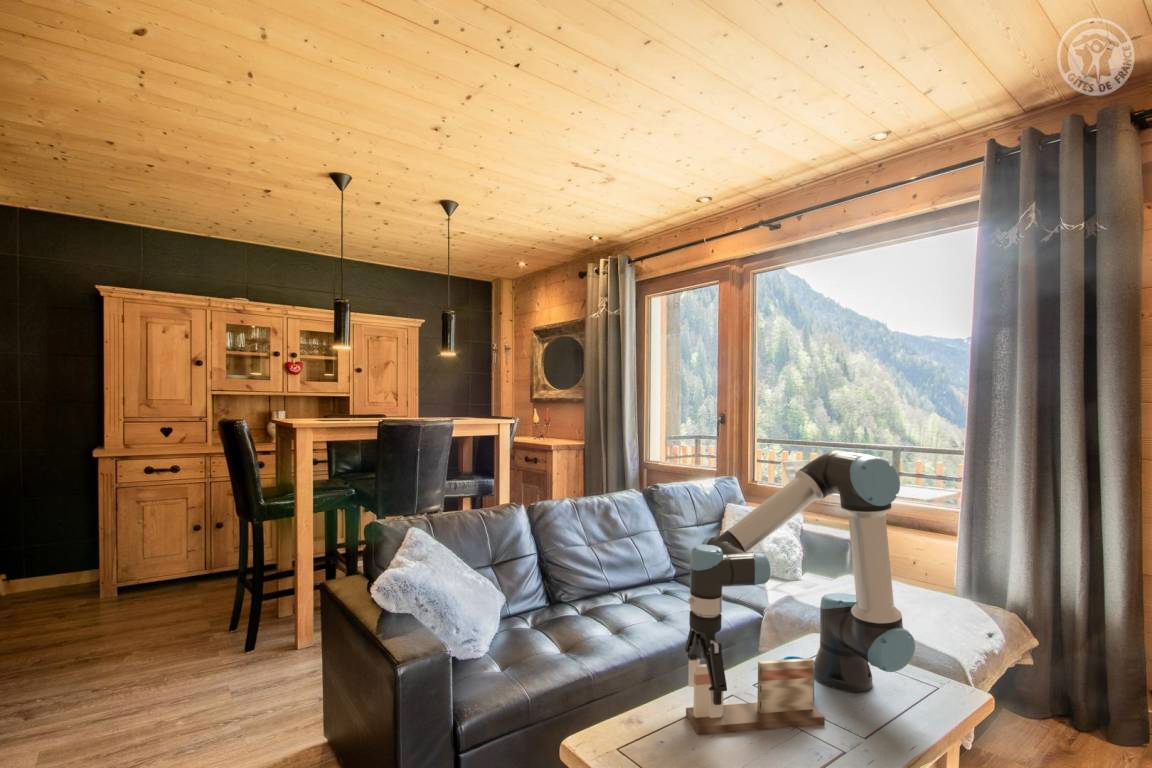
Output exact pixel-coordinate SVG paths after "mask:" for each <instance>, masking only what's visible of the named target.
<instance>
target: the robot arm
mask: <svg viewBox="0 0 1152 768" xmlns="http://www.w3.org/2000/svg"><path fill="white" fill-rule="evenodd" d="M900 490H901V481H900V476H899V473H898V471H897V470H896V468H895V466H894V465H892V464H891V463H890V462H889V461H888V460H886V459H884V458H882V457H878V456H876V455H873V454H865V453H858V452H852V451H851V452H850V451H846V450H833V451H829V452H826V453H824V454H822V455H820V456H818V457H816V458H815V459H813V460H812V461H810V462H808V463H807V464H805V465H804V466H803V467H802V468H800V469H798V470H797V471H796V472H795V474H794V478H793V479H792V480H791V481H790V482H788V483H787V484H785V486H783V487H782V488H780V489H779V490H778V491H776V492H775V493H774V494H773V495H771V496H770V497H769V498H767V499H766V500H765V501H764V502H762V503H760V504H759V505H758V506H757V507H755V508H754V509H753V510H752V511H751V512H749V513H748V514H746V515H745V516H744V517H743V518H741V519H740V520H739V521H737V522H736V523H734V524H733V525H732V526H731V527H729V528H728V529H727V530H726V531H725V532H723V533H722V534H720V535H709V536H707V537H705V539H703V541H702V542H701V544H697V545H695V546H693V547H692V548H691V550H690V560H689V561H690V562H689V585H690V586H689V598H688V599H687V601H688V603H689V609H690V611H689V615H688V616H689V618H688V619H689V622H688V623H689V624H688V625H689V631H688V636H687V639H686V643H685V648H684V649H685V650H684V651H685V653H687V658H688V674H687V675H688V677H687V678H688V680H687V681H688V683H687V684H688V687H689V688H691V687H693V688H694V665H701V660H700V659H699V658H701V655H702V658H703V659H704V660H705V663H706V664H707V669H708V674H709V678H710V683H711V687H710V688H709V691H710V692H709V717H710V718H715V717H722V691H723V692H727V690H728V688H727V687H728V686H727V681H726V679H727V678H726V673H725V666H723V665H724V660H723V654H722V653H723V651H722V650H723V649H722V648H723V647H722V643H721V642H717V639H716V634H717V633H719V632H720V631H721V630H722V622H723V621H722V620H723V619H722V612H723V588H724V587H742V586H743V587H744V586H757V585H764V584H767V582H769V580H770V578H771V571H772V570H771V564H770V561H769V558H768V557H767V555H766V554H765V553H763V552H756V551H752V552H751V550H752V549H753V548H754V547H755V548H756V546H757V545H759V544H760V543H762V542H763V541H764V540H765V539H767V538H768V537H769V536H771V535H772V534H773V533H774V532H775V531H777V530H778V529H779V528H781V527H782V526H783V525H785V524H786V523H787V522H788V521H790V520H791V519H792V518H793V517H795V516H796V515H797V514H799V513H800V512H802V511H803V510H804V509H805V508H807V507H808V506H810V505H811V504H812V503H813V502H815V501H817V502H818V501H820V502H821V501H822V500H824V499H825V498H826V497H827V496H830V495H833V494H837V495H839V500H840V508H841V509H842V511H844V512H846V513H847V517H848V526H849V527H848V528H849V536H850V546H851V547H850V548H851V558H852V560H851V561H852V569H853V578H854V579H853V580H854V588H855V589H854V590H855V591H854V592H855V594H852V593H843V592H833V593H826V594H824V595H823V596H822V597H821V599H820V604H819V605H820V606H819V613H820V615H819V616H820V617H819V620H820V622H819V623H820V624H819V630H820V631H819V648H818V650H817V653H816V656H815V660H814V666H815V669H814V679H816V680H817V681H819V682H820V683H822V684H823V685H825V686H827V687H829V688H832V689H835V690H837V691H842V692H848V693H849V692H850V693H863V692H866V691H869V690H871V689H872V687H873V674H872V671H871V668H870V665H871V666H873V667H875V668H878V669H879V670H881V671H883V672H886V673H895V672H898V671H900V670H902V669H904V668H905V667H907V666H908V664H909V662H911V661H912V659H913V657H914V656H915V651H916V641H915V638H914V636H913V634H911V633H910V631H909V630H908V629H906V628H904V626H903V625H904V624H903V614H902V612H901V611H900V610H899V609H898V608H897V607H896V606H895V603H894V600H895V599H894V591H893V580H892V572H891V560H890V551H889V547H890V546H889V538H888V527H887V517H886V516H887V515H886V514H888V512H889V511H890V510H891V509H892V503H893V502H894V501H895V500H896V499H897V495H898V494H900Z"/></svg>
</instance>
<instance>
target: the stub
mask: <svg viewBox="0 0 1152 768" xmlns="http://www.w3.org/2000/svg"><path fill="white" fill-rule="evenodd" d="M723 666H724V664H723ZM724 667H725V666H724ZM710 687H711V683H710V678H709V674H708V669H707V664H705V663H703V664H701V663H700V665H694V687H693V707H694V711H693V715H694V717H695V718H700V717H709V692H710V691H709V688H710ZM723 705H724V691H722V716H723Z"/></svg>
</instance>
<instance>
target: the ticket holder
mask: <svg viewBox="0 0 1152 768" xmlns="http://www.w3.org/2000/svg"><path fill="white" fill-rule="evenodd" d="M814 661H815V660H814V659H813V658H812V657H809V658H807V657H806V658H805V659H789V660H782V659H778V660H777V659H775V660H760V661H757V701H756V702H746V703H732V704H723V716H722V717H715V718H710V717H700V718H695V717H694V715H693V711H694V706H692V707H690V706H689V707H685V717H686V718H687V720H688V722H689V723H690V725H691V727H692V729H693V730H694V732H695V733H696V735H697V736H706V735H707V736H708V735H721V734H722V735H723V734H731V733H733V734H734V733H744V732H758V731H769V730H770V731H771V730H781V729H791V728H792V729H794V728H804V727H805V728H807V727H815V726H817V727H818V726H825V724H826V721H825V720H826V718H825V717H826V716H825V715H823V714H822V712H821V711H819V709H817V708H816V707H815V706H814V699H813V678H814V679H815V677H814Z"/></svg>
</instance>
